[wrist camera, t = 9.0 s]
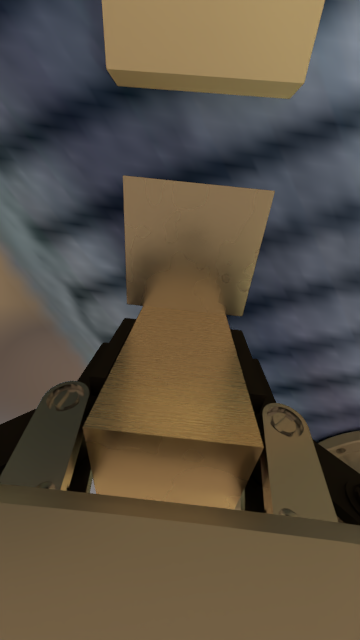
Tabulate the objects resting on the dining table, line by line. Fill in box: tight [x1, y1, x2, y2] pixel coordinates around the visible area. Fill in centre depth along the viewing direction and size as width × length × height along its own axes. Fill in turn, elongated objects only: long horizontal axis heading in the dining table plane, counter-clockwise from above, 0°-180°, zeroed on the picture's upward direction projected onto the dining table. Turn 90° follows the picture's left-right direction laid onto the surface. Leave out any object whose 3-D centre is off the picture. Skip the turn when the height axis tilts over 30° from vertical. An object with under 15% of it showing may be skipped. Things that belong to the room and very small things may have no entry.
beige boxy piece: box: [83, 176, 275, 509], centre depth 7 cm, size 9×6×7 cm, turn 175°
